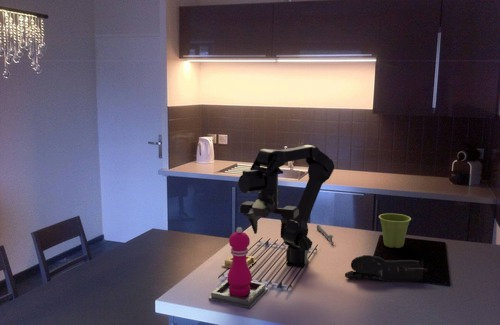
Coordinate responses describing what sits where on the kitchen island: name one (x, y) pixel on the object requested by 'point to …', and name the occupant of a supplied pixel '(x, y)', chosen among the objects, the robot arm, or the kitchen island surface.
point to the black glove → (384, 269)
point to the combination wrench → (325, 233)
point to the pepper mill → (239, 264)
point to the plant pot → (394, 229)
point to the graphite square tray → (247, 301)
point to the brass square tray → (229, 261)
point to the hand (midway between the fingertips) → (268, 235)
